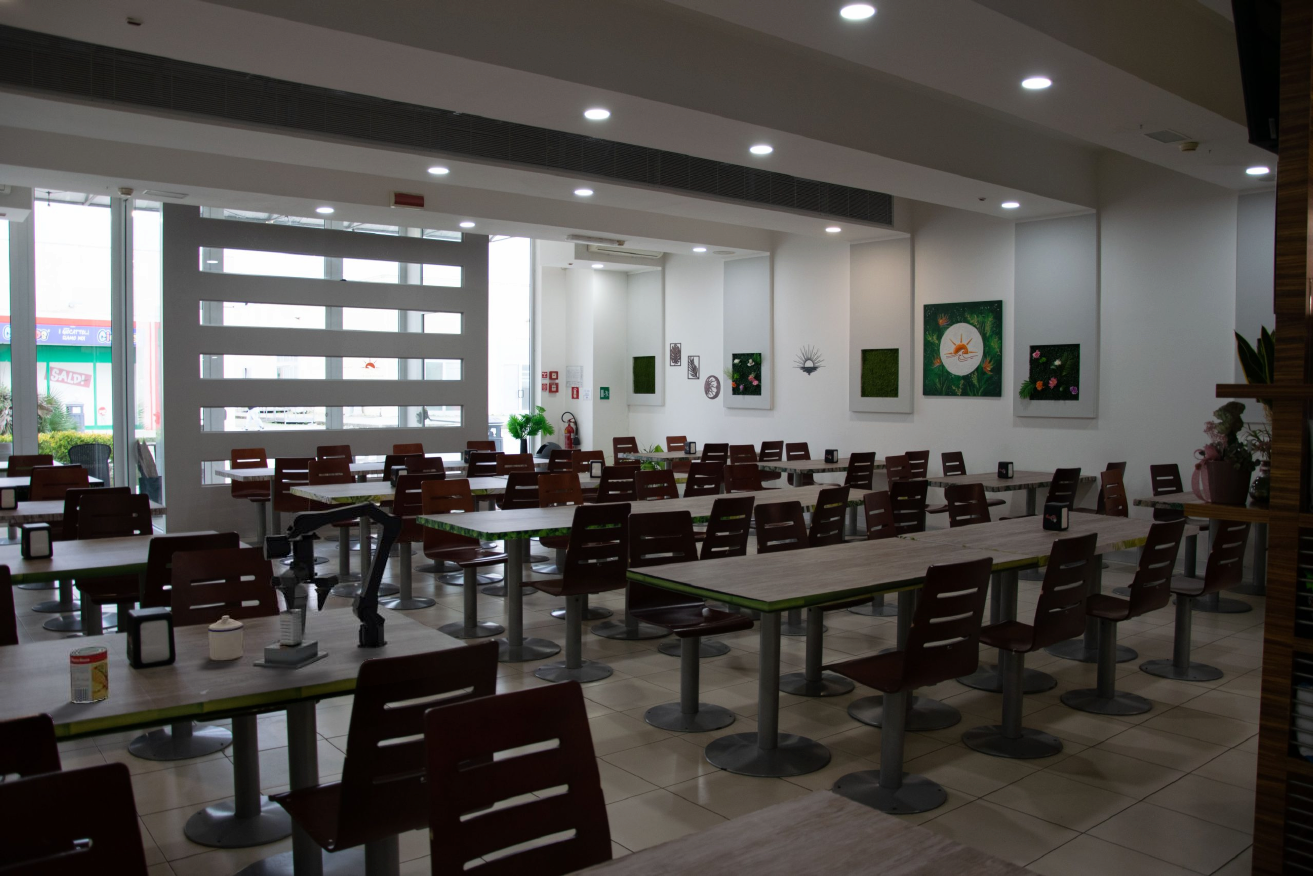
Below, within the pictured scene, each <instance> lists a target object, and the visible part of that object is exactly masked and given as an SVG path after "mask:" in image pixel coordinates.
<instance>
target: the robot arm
mask: <svg viewBox="0 0 1313 876" xmlns="http://www.w3.org/2000/svg"><path fill="white" fill-rule="evenodd" d="M363 517H364V518H365V517H367V518H368V519H369V520H371V521H373V522H374V523H375V524H377V532H376V537H377V538H376V539H377V542H376V546H375V548H374V549H375V550H374V552H373V556H372V559H371V562H370V566H369V569H368V573H367V576H366V579H365V582H364V586H363V588H362V590H361V591H360V593H358V592H355V593H354V597H353V601H352V603H351V605H350V606H351V607H352V609H351V610H352V613H353V615H354V616H355V617H356V619H358V620H359V622H360V623H361V624H360V625H359V630H358V643H357V645H356V646H357V647H358V648H371V649H372V648H373V649H376V648H379V647H381V646H383V645H386V644H387V643H388V641H387V640H385V622H386V618H385V617H383V616H382V615H381V614H380V613H379V612H378V611H379V610H378V609H379V591H380V588H381V584H382V580H383V577H384V574H385V571H386V568H387V567H386V566H387V564H388V561H389V557H390V553H391V550H392V547H393V545H394V544H395V542H396V541H397V540H398V538H399V537H400V534H401V532H402V530H403V528H404V523H403V520H402V518H400V517H399V516H396V515H395V514H392V513H387V512H385V511H383V510H382V509H380V508H378V507H377V506H375V504H373V503H371V502H369V501H363V502H361V503H356V504H352V505H346V506H342V507H338V508H332V509H328V510H322V511H311V510H310V511H298V512H295V513H293V514H292V516H291V517H290V519H289V525H288V526H287V528H286V529H285V531H284V532H283V534H278V535H265V536H264V542H263V543H264V544H263V556H264V560H265V561H271V560H272V561H274V560H280V559H287V558H288V556H290V555H291V554H292V560H290V561H289V567H288V568H287V569H285V571H283V572H282V573H279V574H274V575H273V576H272V577H271V579H270V587H274V589H275V590H277V591H279V592H281V594H282V596H283V598H284V597H285V598H284V600H285V599H286V602H287V604H288V606H289V609H294V601H295V587H296V586H298V584H302V585H314V586H315V587H316V588H314V591H315V593H316V596H317V597H316V599H317V600H316V603H317V610H318V612H322V610H323V607H324V605H325V603H326V600H327V597H328V596H329V593H330V592H331V590H332V589H333V588H335V586H337V585H339V577H338V575H336V574H323V575H320V576H319V574H318V572H316V570H315V569H316V568H315V567H316V566H315V563H316V562H318V558H316V557H315V547H314V544H315V543H314V542H315V541H320V540H321V539H322V538H321V536H319V535H318V534H317V533H316V531H317V530H319V529H320V528H322V527H325V526H327V525H331V524H334V523H340V522H344V521H350V520H355V519H358V518H363Z"/></svg>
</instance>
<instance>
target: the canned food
mask: <svg viewBox="0 0 1313 876" xmlns="http://www.w3.org/2000/svg"><path fill="white" fill-rule="evenodd" d="M108 655H109V654H108V647H107V646H97V645H96V646H89V647H88V646H87V647H80V648H77V649H74V650H71V651H70V652H69V668H70V669H69V670H70V671H69V673H70V698H71V699H70V701H71V700H72V701H76V702H78V701H79V702H82V701H94V700H99V699H103V698H105V697H107V696H108V695H109V694H110V691H109V665H108V664H109V663H108V662H109V660H108V659H109V658H108V657H109V656H108Z"/></svg>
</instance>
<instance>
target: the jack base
mask: <svg viewBox="0 0 1313 876" xmlns="http://www.w3.org/2000/svg"><path fill="white" fill-rule="evenodd" d="M263 654H264V655H263V658H261V659H258V660H256V661H253V663H252V664H253V665H252V666H260V667H270V668H283V669H296V670H297V669H300V668H302V667H304V666H307V665H309V664H311V663H313V662H317V661H319V660H320V659H323V658H326V657H328V656H329V652H325V651H319V645H318V640H310V639H309V640H307V639H302V642H299V643H297V644H294V645H285V644H280V641H279V642H275V643H273V644H270V645H268V646H265V647H263Z"/></svg>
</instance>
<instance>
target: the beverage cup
mask: <svg viewBox="0 0 1313 876" xmlns="http://www.w3.org/2000/svg"><path fill="white" fill-rule="evenodd" d="M309 596H310V595H309V592H308V589H307V587H306V586H305V584H298V586H296V587H295V601H294V609H297V610H301V627H302V634H304V633H305V631H306V621H307V608H308V607H307V605H308V602H309V601H308V600H309ZM283 599H284V603H285V607H286V608H285V610H287V609H289V606H288V604H287V602H286V599H285V597H284V596H283Z"/></svg>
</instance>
